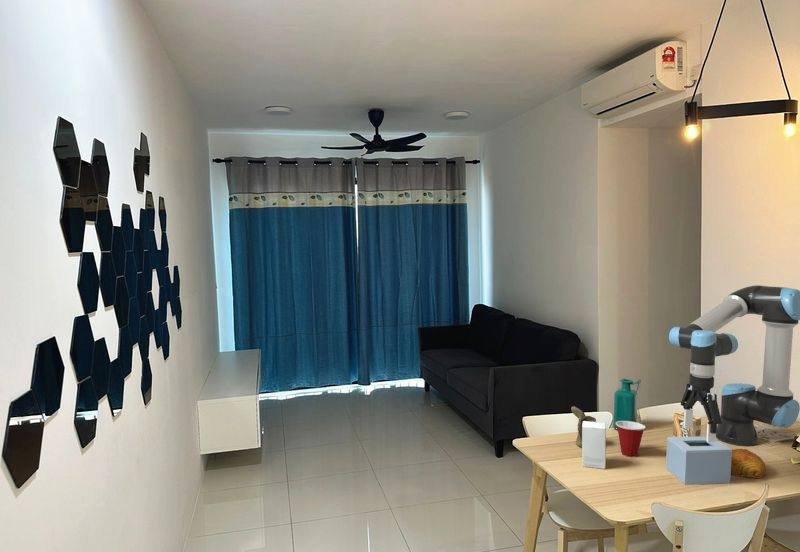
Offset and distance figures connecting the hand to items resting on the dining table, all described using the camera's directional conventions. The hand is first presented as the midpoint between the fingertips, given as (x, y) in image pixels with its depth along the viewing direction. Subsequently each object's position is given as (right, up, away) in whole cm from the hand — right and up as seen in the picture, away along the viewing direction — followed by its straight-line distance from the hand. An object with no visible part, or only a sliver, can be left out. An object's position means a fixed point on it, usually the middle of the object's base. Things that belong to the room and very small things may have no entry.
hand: (699, 434), depth 191 cm
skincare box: (-33, -15, +11) cm, 38 cm away
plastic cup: (-16, -14, +21) cm, 29 cm away
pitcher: (-6, -11, +47) cm, 49 cm away
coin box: (0, -15, +1) cm, 15 cm away
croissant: (+19, -15, +7) cm, 25 cm away
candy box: (+6, -14, +21) cm, 25 cm away
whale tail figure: (-31, -13, +28) cm, 44 cm away
